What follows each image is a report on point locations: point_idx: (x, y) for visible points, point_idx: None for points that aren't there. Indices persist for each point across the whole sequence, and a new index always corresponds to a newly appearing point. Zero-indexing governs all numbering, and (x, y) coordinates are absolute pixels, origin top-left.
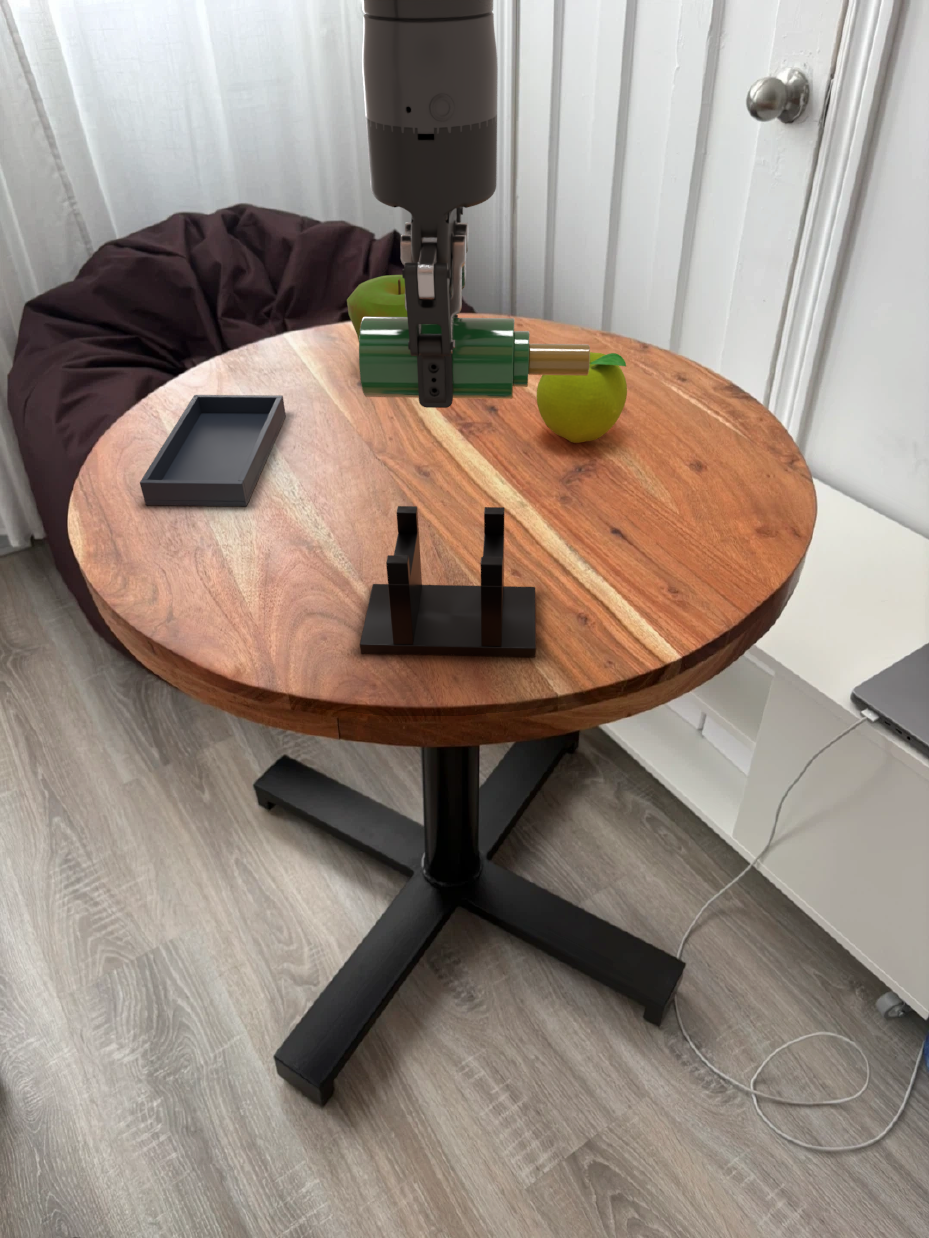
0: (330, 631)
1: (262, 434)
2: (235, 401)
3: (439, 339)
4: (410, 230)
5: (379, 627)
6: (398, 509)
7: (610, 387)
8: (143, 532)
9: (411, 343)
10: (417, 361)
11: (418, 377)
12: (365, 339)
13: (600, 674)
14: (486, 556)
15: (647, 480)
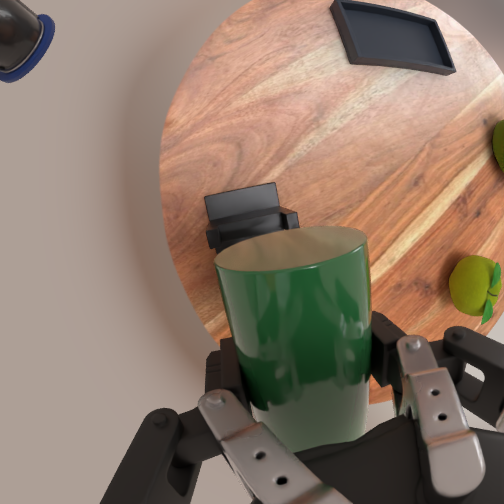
0: (223, 166)
1: (416, 62)
2: (441, 43)
3: (171, 463)
4: (441, 500)
5: (225, 204)
6: (291, 214)
7: (472, 312)
8: (300, 12)
9: (139, 433)
10: (221, 379)
11: (221, 362)
12: (248, 286)
13: None
14: None
15: (415, 328)
